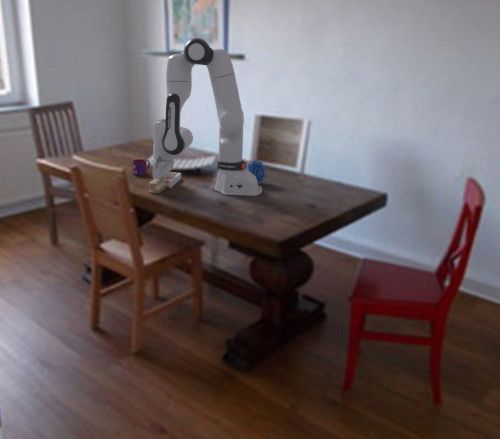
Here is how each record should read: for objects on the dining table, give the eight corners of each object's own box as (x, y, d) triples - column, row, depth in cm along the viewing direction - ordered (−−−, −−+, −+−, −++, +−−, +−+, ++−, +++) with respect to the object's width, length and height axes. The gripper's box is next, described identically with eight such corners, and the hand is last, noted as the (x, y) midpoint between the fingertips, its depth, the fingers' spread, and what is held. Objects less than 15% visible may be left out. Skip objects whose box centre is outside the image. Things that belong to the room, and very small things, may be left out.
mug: (130, 173, 280) (130, 160, 277) (146, 170, 286) (146, 157, 284) (138, 176, 275) (137, 163, 273) (154, 173, 282) (154, 160, 280)
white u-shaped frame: (181, 178, 275) (181, 173, 274) (170, 187, 260) (170, 181, 259) (164, 177, 276) (164, 171, 275) (153, 186, 261) (153, 180, 260)
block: (165, 189, 258) (165, 180, 256) (159, 193, 252) (158, 184, 250) (155, 188, 259) (155, 178, 258) (148, 192, 253) (148, 182, 251)
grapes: (251, 187, 265) (252, 163, 261) (243, 184, 270) (244, 160, 266) (270, 184, 272) (271, 160, 268) (261, 181, 277) (263, 157, 273)
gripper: (162, 160, 247) (162, 189, 251) (175, 150, 266) (176, 177, 270) (148, 158, 248) (149, 188, 252) (163, 148, 267) (163, 176, 271)
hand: (163, 182), depth 262 cm, fingers closed
